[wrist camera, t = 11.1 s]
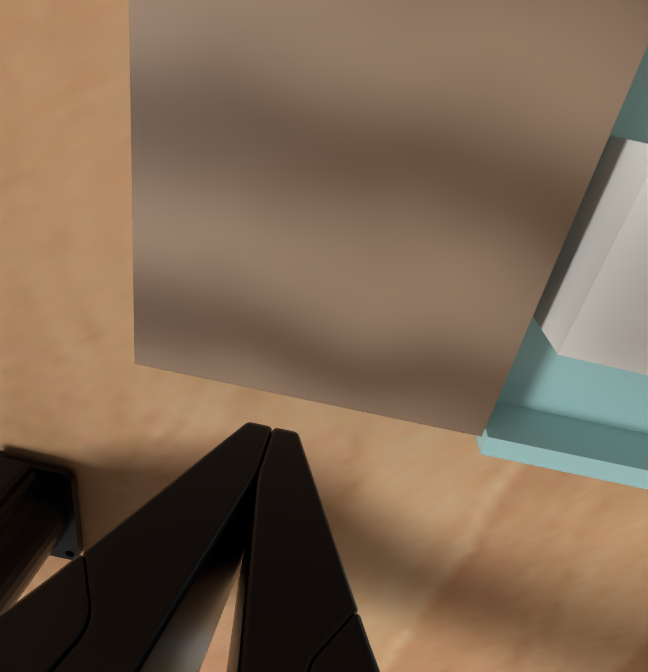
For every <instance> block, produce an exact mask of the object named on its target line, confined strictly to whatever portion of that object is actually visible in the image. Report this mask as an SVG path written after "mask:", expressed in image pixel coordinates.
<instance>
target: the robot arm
mask: <svg viewBox="0 0 648 672" xmlns="http://www.w3.org/2000/svg"><path fill="white" fill-rule="evenodd" d="M82 550H83V548H82V537H81V527H80V517H79V506H78V496H77V486H76V477H75V474H74V473H73V472H72V471H71V470H69V469H66V468H62V467H58V466H53V465H48V464H44V463H39V462H34V461H30V460H25V459H20V458H16V457H11V456H6V455H2V454H0V672H199V671H200V668H201V666H202V663H203V660H204V658H205V655H206V653H207V650H208V648H209V645H210V642H211V640H212V637H213V635H214V632H215V630H216V627H217V624H218V622H219V619H220V617H221V614H222V612H223V609H224V607H225V604H226V601H227V599H228V596H229V594H230V591H231V589H232V586H233V583H234V581H235V578H236V575H237V573H238V570H239V567H240V564H241V560H242V565H241V571H240V577H239V583H238V590H237V598H236V605H235V613H234V620H233V628H232V635H231V643H230V650H229V658H228V665H227V672H380V670H379V668H378V665H377V662H376V660H375V657H374V654H373V652H372V649H371V646H370V643H369V640H368V637H367V635H366V632H365V629H364V626H363V623H362V620H361V617H360V615H358V614H357V611H358V609H357V606H356V603H355V600H354V597H353V594H352V591H351V588H350V585H349V582H348V579H347V576H346V573H345V570H344V567H343V564H342V562H341V559H340V556H339V553H338V550H337V547H336V544H335V541H334V538H333V535H332V532H331V529H330V526H329V523H328V520H327V517H326V514H325V511H324V508H323V505H322V502H321V499H320V496H319V494H318V491H317V488H316V485H315V482H314V479H313V476H312V473H311V470H310V467H309V464H308V461H307V458H306V455H305V452H304V449H303V446H302V443H301V440H300V437H299V435H298V434H297V433H296V432H293V431H289V430H284V429H279V428H275V429H274V430H273V431H272V429H271V428H270V427H269V426H265V425H261V424H256V423H252V422H249V423H246V424H245V425H243V426H242V427H241V428H240V429H238V430H237V431H236V432H234V433H233V434H232V435H231V436H229V437H228V438H227V439H226V440H224V441H223V442H222V443H221V444H219V445H218V446H217V447H215V448H214V449H213V450H212V451H210V452H209V453H208V454H207V455H205V456H204V457H203V458H201V459H200V460H199V461H198V462H196V463H195V464H194V465H193V466H191V467H190V468H189V469H188V470H186V471H185V472H184V473H182V474H181V475H180V476H179V477H177V478H176V479H175V480H174V481H172V482H171V483H170V484H169V485H167V486H166V487H165V488H163V489H162V490H161V491H160V492H158V493H157V494H156V495H155V496H153V497H152V498H151V499H149V500H148V501H147V502H146V503H144V504H143V505H142V506H141V507H139V508H138V509H137V510H136V511H134V512H133V513H132V514H130V515H129V516H128V517H127V518H125V519H124V520H123V521H122V522H120V523H119V524H118V525H117V526H115V527H114V528H113V529H111V530H110V531H109V532H108V533H106V534H105V535H104V536H103V537H101V538H100V539H99V540H97V541H96V542H95V543H94V544H92V545H91V546H90V547H89V548H87V549H86V550H85V551H84V553H83V556H82V555H80V554H81V553H82ZM49 555H52V556H56V557H61V558H65V559H70V560H72V561H70V562H69V563H68V564H67V565H65V566H64V567H63V568H62V569H60V570H59V571H58V572H56V573H55V574H54V575H53V576H51V577H50V578H49V579H47V580H46V581H45V582H43V583H42V584H41V585H39V586H38V587H37V588H35V589H34V590H33V591H31V592H30V593H29V594H27V595H26V596H25V597H23V598H22V599H21V600H19V601H18V602H17V603H16V601H17V600H18V599H19V597H20V596H21V594H22V593H23V592H24V590H25V589H26V587H27V586H28V585H29V583H30V582H31V580H32V579H33V578H34V576H35V575H36V573H37V572H38V571H39V569H40V568H41V566H42V565H43V564H44V562H45V561H46V559H47V558H48V557H49ZM242 557H243V559H242Z"/></svg>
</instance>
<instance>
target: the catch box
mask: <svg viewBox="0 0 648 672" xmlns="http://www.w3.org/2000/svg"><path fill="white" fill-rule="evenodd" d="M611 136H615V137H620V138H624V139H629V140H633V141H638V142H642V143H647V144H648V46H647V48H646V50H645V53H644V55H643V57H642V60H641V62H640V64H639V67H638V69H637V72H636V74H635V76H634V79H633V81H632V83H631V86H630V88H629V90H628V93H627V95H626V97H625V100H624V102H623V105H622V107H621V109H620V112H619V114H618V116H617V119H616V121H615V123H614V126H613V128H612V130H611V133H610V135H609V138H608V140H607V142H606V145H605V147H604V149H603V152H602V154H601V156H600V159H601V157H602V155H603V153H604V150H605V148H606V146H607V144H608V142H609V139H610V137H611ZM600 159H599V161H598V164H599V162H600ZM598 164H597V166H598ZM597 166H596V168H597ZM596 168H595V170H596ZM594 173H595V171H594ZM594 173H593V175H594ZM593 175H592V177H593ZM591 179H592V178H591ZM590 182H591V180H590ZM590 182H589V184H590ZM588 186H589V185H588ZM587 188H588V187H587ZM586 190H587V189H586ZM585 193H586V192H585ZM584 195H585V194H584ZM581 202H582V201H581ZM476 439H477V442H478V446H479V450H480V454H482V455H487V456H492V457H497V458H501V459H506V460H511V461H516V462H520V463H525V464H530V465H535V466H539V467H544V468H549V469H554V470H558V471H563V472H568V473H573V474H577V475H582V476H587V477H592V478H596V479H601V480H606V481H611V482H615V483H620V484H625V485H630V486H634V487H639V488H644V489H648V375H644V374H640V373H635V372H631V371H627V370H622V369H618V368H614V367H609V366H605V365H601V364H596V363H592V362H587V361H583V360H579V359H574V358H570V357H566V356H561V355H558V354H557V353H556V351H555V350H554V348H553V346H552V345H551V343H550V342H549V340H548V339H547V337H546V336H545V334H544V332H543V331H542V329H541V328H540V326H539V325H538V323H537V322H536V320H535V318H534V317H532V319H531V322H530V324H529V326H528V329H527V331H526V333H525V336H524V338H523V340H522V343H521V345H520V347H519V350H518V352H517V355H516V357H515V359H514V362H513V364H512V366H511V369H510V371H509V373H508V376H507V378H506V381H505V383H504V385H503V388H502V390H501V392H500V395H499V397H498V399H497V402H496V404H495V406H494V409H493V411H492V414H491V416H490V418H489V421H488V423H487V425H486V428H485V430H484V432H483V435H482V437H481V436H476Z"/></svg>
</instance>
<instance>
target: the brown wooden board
mask: <svg viewBox="0 0 648 672" xmlns="http://www.w3.org/2000/svg"><path fill="white" fill-rule="evenodd" d="M129 24H130V89H131V155H132V220H133V285H134V350H135V364H138V365H143V366H148V367H153V368H157V369H162V370H167V371H172V372H176V373H181V374H186V375H191V376H196V377H200V378H205V379H210V380H215V381H219V382H224V383H229V384H234V385H238V386H243V387H248V388H253V389H257V390H262V391H267V392H272V393H276V394H281V395H286V396H291V397H296V398H300V399H305V400H310V401H315V402H319V403H324V404H329V405H334V406H338V407H343V408H348V409H353V410H357V411H362V412H367V413H372V414H376V415H381V416H386V417H391V418H395V419H400V420H405V421H410V422H415V423H419V424H424V425H429V426H434V427H438V428H443V429H448V430H453V431H457V432H462V433H467V434H472V435H476V436H481V437H482V435H483V432H484V430H485V428H486V425H487V423H488V421H489V418H490V416H491V414H492V411H493V409H494V406H495V404H496V402H497V399H498V397H499V395H500V392H501V390H502V388H503V385H504V383H505V381H506V378H507V376H508V373H509V371H510V369H511V366H512V364H513V362H514V359H515V357H516V355H517V352H518V350H519V347H520V345H521V343H522V340H523V338H524V336H525V333H526V331H527V329H528V326H529V324H530V322H531V319H532V317H533V314H534V312H535V310H536V307H537V305H538V303H539V300H540V298H541V296H542V293H543V291H544V289H545V286H546V284H547V281H548V279H549V277H550V274H551V272H552V270H553V267H554V265H555V263H556V260H557V258H558V255H559V253H560V251H561V248H562V246H563V244H564V241H565V239H566V237H567V234H568V232H569V230H570V227H571V225H572V222H573V220H574V218H575V215H576V213H577V211H578V208H579V206H580V204H581V201H582V199H583V197H584V194H585V192H586V189H587V187H588V185H589V182H590V180H591V178H592V175H593V173H594V171H595V168H596V166H597V164H598V161H599V159H600V156H601V154H602V152H603V149H604V147H605V145H606V142H607V140H608V138H609V135H610V133H611V130H612V128H613V126H614V123H615V121H616V119H617V116H618V114H619V112H620V109H621V107H622V105H623V102H624V100H625V97H626V95H627V93H628V90H629V88H630V86H631V83H632V81H633V79H634V76H635V74H636V72H637V69H638V67H639V64H640V62H641V60H642V57H643V55H644V53H645V50H646V48H647V46H648V0H129Z"/></svg>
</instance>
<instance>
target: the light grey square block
mask: <svg viewBox="0 0 648 672" xmlns="http://www.w3.org/2000/svg"><path fill="white" fill-rule="evenodd" d="M533 317H534V318H535V320H536V322H537V323H538V325H539V326H540V328H541V329H542V331H543V332H544V334H545V336H546V337H547V339H548V340H549V342H550V343H551V345H552V346H553V348H554V350H555V351H556V353H557V354H558V355H561V356H566V357H570V358H574V359H579V360H583V361H587V362H592V363H596V364H601V365H605V366H609V367H614V368H618V369H622V370H627V371H631V372H635V373H640V374H644V375H648V144H647V143H642V142H638V141H633V140H629V139H624V138H620V137H615V136H611V137H610V139H609V142H608V144H607V146H606V148H605V150H604V153H603V155H602V157H601V159H600V162H599V164H598V166H597V168H596V170H595V173H594V175H593V177H592V179H591V182H590V184H589V186H588V188H587V190H586V193H585V195H584V197H583V199H582V202H581V204H580V206H579V208H578V211H577V213H576V215H575V218H574V220H573V222H572V225H571V227H570V230H569V232H568V234H567V237H566V239H565V241H564V244H563V246H562V248H561V251H560V253H559V255H558V258H557V260H556V263H555V265H554V267H553V270H552V272H551V274H550V277H549V279H548V281H547V284H546V286H545V289H544V291H543V293H542V296H541V298H540V300H539V303H538V305H537V307H536V310H535V312H534V314H533Z"/></svg>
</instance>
